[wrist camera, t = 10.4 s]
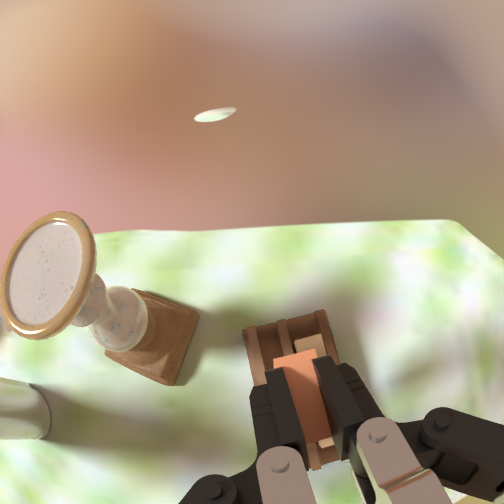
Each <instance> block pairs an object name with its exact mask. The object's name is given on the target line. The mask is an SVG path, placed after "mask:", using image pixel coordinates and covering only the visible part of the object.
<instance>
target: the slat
mask: <svg viewBox="0 0 504 504" xmlns="http://www.w3.org/2000/svg"><path fill="white" fill-rule="evenodd" d="M314 358H317V354H316V351H315V348H314V349H311V350H307V351H303V352H300V353H296V354H292V355H288V356H284V357H280V358H276V359H273V362H274V369H275V368H279V367H283V370H284V373H285V376H286V379H287V383H288V386H289V389H290V392H291V395H292V398H293V402H294V405H295V408H296V411H297V414H298V417H299V421H300V424H301V427H302V430H303V433H304V436H305V441H306V444H310V443H313V442H317V441H320V440H323V439H327V438H330V437H332V434H331V430H330V426H329V422H328V418H327V415H326V411H325V407H324V403H323V400H322V396H321V392H320V388H319V385H318V381H317V378H316V374H315V370H314V367H313V363H312V360H311V359H314Z"/></svg>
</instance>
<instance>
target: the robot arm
mask: <svg viewBox="0 0 504 504" xmlns="http://www.w3.org/2000/svg"><path fill="white" fill-rule="evenodd" d="M311 360H312V363H313V367H314V370H315V374H316V378H317V381H318V385H319V388H320V392H321V396H322V400H323V403H324V407H325V411H326V415H327V418H328V422H329V426H330V430H331V434H332V439H333V442H334V444H335V447H336V449H337V452H338V454H339V457H340V459H341V461H343V460H346V459H349V461H350V463H351V465H352V476H353V479H354V481H355V484H356V487H357V489H358V492H359V494H360V497H361V500H362V502H363V504H452V502H451V500H450V498H449V497H448V495H447V493H446V491H445V490H444V488H443V486H444V487H447V488H450V489H452V490H455V491H458V492H461V493H464V494H467V495H470V496H474V497H477V498H480V499H484V500H487V501H490V502H493V504H504V425H502V424H498V423H495V422H491V421H488V420H485V419H481V418H478V417H475V416H472V415H469V414H465V413H462V412H459V411H456V410H453V409H450V408H446V407H440V408H436V409H433V410H431V411H430V412H429V413H428V414H427V415H426V416H425V418H424V420H419V421H413V422H407V423H397V422H394V421H392V420H391V419H388V418H386V417H385V416H384V415H383V414H382V413H381V411H380V409H379V408H378V406H377V404H376V403H375V401H374V399H373V398H372V396H371V394H370V393H369V391H368V389H367V388H366V387H365V384H364V383H363V381H362V380H361V378H360V376H359V375H358V373H357V371H356V370H355V369H354V368H353V367H351V366H349V365H348V364H346V363H343V364H339V365H336V364H335V363H334V361H333V359H332V357H331V356H330V355H329V354H328V355H325V356H321V357H318V358H314V359H311ZM264 373H265V377H266V382H267V384H263V385H258V386H253V389H252V391H251V394H250V397H249V398H250V405H251V411H252V417H253V424H254V430H255V437H256V443H257V449H258V453H257V457H256V460H255V462H254V463H253V464H252V465H251V466H250V467H249V468H248V469H246V470H245V471H243V472H240V473H238V474H236V475H233V476H231V477H229V478H228V477H226V476H223V475H215V474H214V475H208V476H205V477H202V478H201V479H199V480H198V481H197V482H196V483H195V484H194V485H193V486H192V488H191V489H190V490H189V491H188V493H187V494H186V495H185V496H184V498H183V499H182V500H181V501H180V503H179V504H317V503H316V500H315V497H314V494H313V491H312V488H311V485H310V482H309V479H308V475H307V472H306V471H309V466H308V457H307V449H306V441H305V436H304V433H303V430H302V427H301V424H300V421H299V417H298V414H297V411H296V408H295V405H294V402H293V398H292V395H291V392H290V389H289V386H288V383H287V379H286V376H285V373H284V370H283V367H279V368H275V369H270V370H266V371H264ZM50 424H51V417H50V411H49V408H48V405H47V403H46V400H45V399H44V397H43V396H42V395H41V393H40V392H39V391H37V390H36V389H34V388H32V387H31V386H30V385H29V383H25V382H20V381H15V380H10V379H6V378H1V377H0V439H40V438H43V437H45V436H46V435H47V434H48V432H49V429H50Z"/></svg>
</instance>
